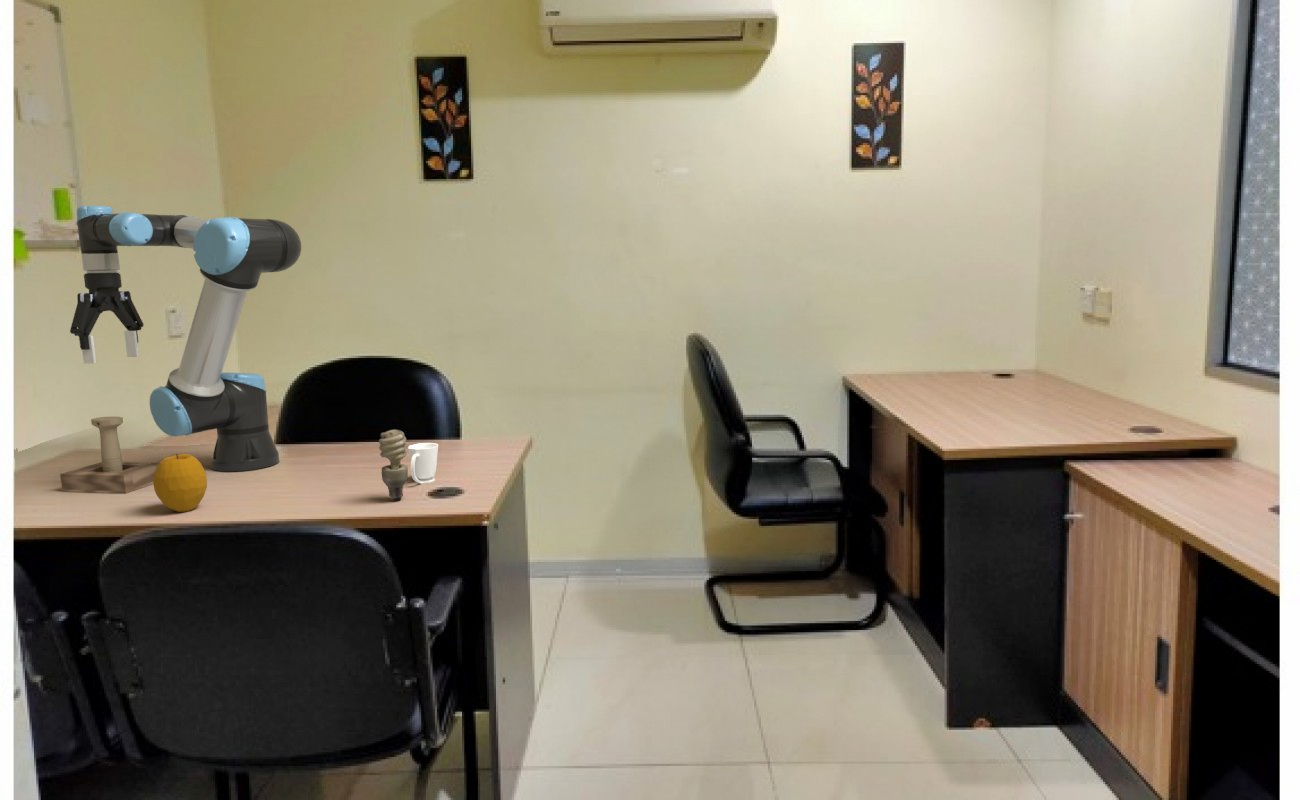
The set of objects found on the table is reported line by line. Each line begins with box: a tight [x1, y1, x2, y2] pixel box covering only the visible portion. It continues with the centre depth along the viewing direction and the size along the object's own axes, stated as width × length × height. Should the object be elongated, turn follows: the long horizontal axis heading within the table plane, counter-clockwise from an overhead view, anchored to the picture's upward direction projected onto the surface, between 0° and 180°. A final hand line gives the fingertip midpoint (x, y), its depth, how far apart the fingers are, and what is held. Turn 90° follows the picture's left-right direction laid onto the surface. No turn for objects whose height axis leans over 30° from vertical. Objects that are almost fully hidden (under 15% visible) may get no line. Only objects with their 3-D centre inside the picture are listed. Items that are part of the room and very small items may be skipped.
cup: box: [407, 442, 439, 485], centre depth 195 cm, size 7×10×8 cm
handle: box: [90, 416, 124, 473], centre depth 197 cm, size 5×6×15 cm
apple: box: [152, 453, 208, 513], centre depth 177 cm, size 10×10×12 cm
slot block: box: [59, 461, 160, 494], centre depth 198 cm, size 16×12×4 cm
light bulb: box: [378, 429, 409, 501], centre depth 180 cm, size 6×6×15 cm
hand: (112, 360), depth 213 cm, fingers open, 13 cm apart
